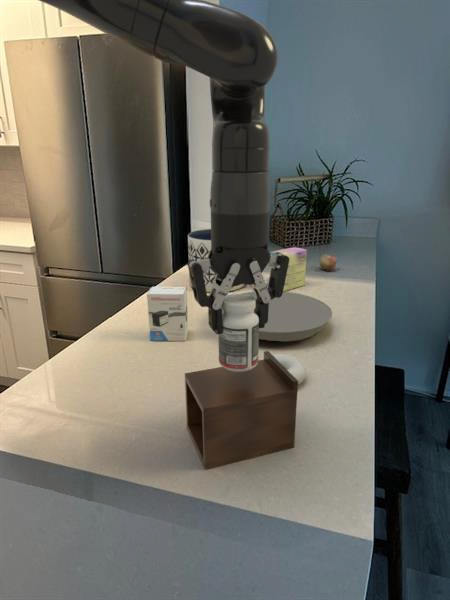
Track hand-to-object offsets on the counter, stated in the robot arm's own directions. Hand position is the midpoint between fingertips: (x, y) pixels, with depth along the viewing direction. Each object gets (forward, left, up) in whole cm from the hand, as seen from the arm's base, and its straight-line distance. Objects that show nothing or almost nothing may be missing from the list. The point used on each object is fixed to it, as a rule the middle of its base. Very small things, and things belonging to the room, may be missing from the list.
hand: (238, 328), depth 60 cm
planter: (+22, +74, -19) cm, 80 cm away
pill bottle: (0, 0, -6) cm, 6 cm away
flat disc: (+24, +38, -19) cm, 48 cm away
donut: (+14, +14, -19) cm, 27 cm away
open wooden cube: (0, 0, -18) cm, 18 cm away
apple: (+64, +76, -19) cm, 101 cm away
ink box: (-2, +40, -19) cm, 44 cm away
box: (+42, +64, -19) cm, 79 cm away
